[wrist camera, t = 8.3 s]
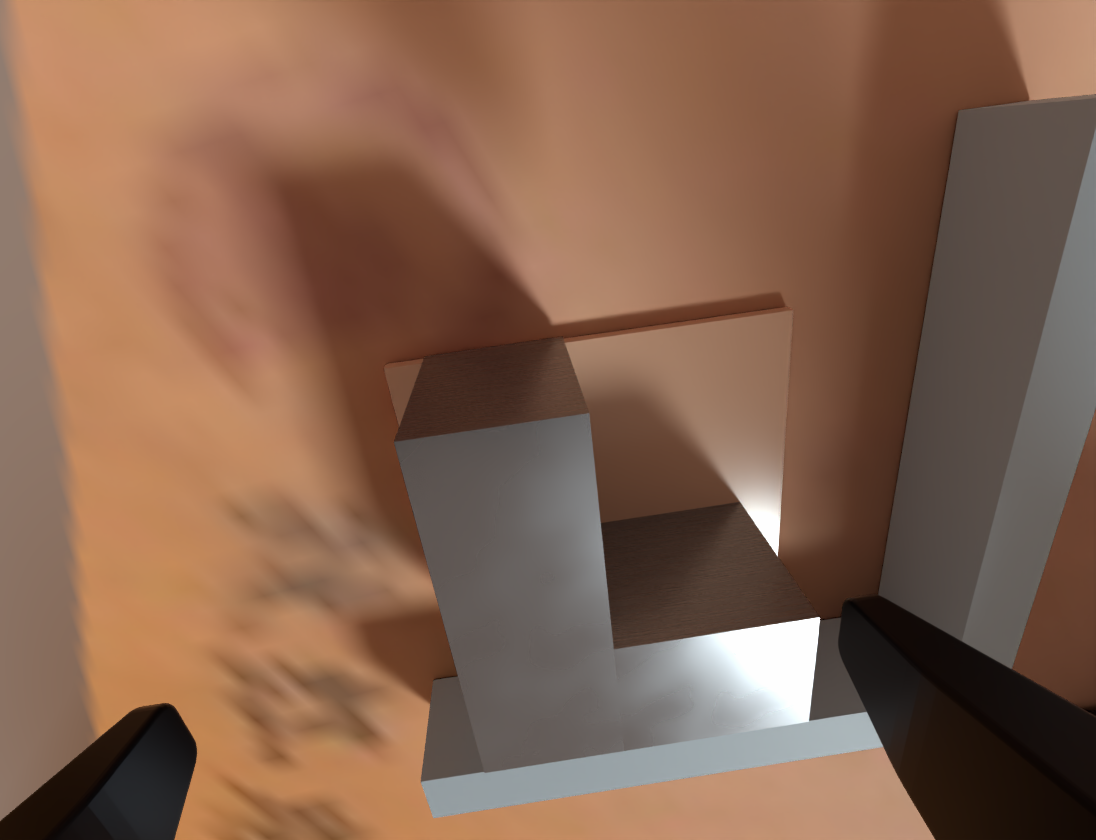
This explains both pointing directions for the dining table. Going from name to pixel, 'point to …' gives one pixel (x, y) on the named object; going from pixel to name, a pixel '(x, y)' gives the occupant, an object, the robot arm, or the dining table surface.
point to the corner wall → (921, 454)
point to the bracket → (586, 578)
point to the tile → (680, 414)
